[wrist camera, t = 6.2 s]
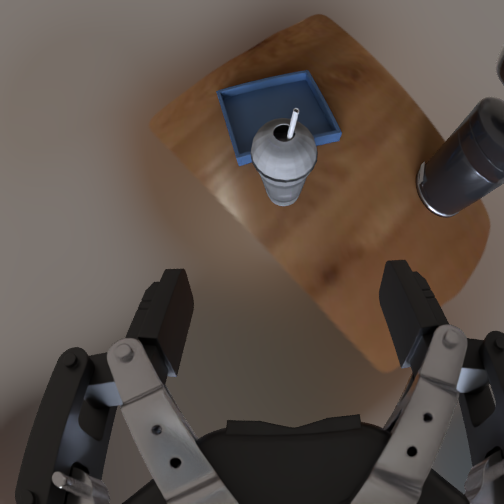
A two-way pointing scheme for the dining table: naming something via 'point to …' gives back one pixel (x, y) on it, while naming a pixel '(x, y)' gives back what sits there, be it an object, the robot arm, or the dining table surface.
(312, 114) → the tray
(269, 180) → the beverage cup
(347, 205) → the dining table surface
